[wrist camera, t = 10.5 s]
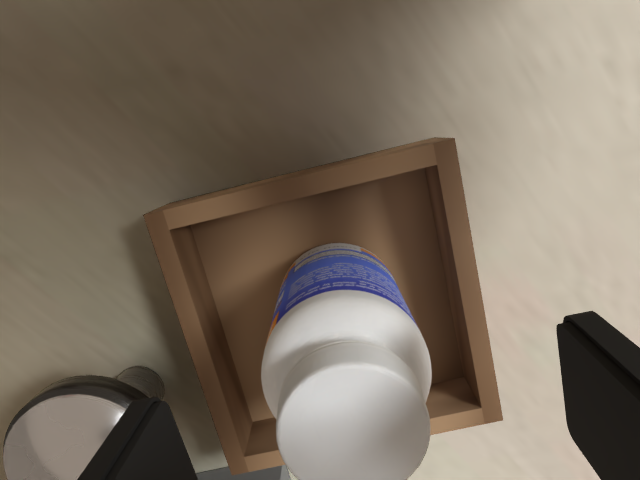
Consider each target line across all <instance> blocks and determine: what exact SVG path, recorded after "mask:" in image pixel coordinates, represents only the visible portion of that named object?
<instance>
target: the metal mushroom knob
mask: <svg viewBox="0 0 640 480" xmlns="http://www.w3.org/2000/svg"><path fill="white" fill-rule="evenodd" d="M163 395H164V385H163V382H162V380H161V378H160V377H159V375H158V374H157V373H155V372H154V371H153V370H151V369H149V368H146V367H142V366H135V367H130V368H128V369H126V370H124V371H123V372H122V373H121V374H120V375H119V377H118V378H117V379H114V378H109V377H103V376H93V375H86V376H76V377H70V378H66V379H63V380H60V381H58V382H55V383H53V384H51V385H50V386H48V387H46V388H45V389H43V390H42V391H41V392H40V393H39V394H38V395H36V396H35V397H34V398H33V399H32V400H31V401H30V402H29V403H28V404H27V405H25V406H24V407H23V408H22V409H21V410H20V411H19V412H18V413H17V415H16V416H15V417H14V418H13V420H12V422H11V423H10V425H9V427H8V430H7V432H6V436H5V440H4V449H3V462H4V469H5V473H6V476H7V479H8V480H77V479H78V478H79V476H80V475H81V473H82V472H83V471H84V469H85V468H86V466H87V465H88V463H89V462H90V461H91V459H92V458H93V456H94V455H95V453H96V452H97V451H98V449H99V448H100V446H101V445H102V443H103V442H104V440H105V439H106V438H107V436H108V435H109V433H110V432H111V430H112V429H113V428H114V426H115V425H116V423H117V422H118V420H119V419H120V418H121V416H122V415H123V413H124V412H125V410H126V409H127V408H128V406H129V405H130V403H131V402H132V401H135V400H140V399H145V398H150V397H158V398H159V399H160V400H161V399H162V397H163Z"/></svg>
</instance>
